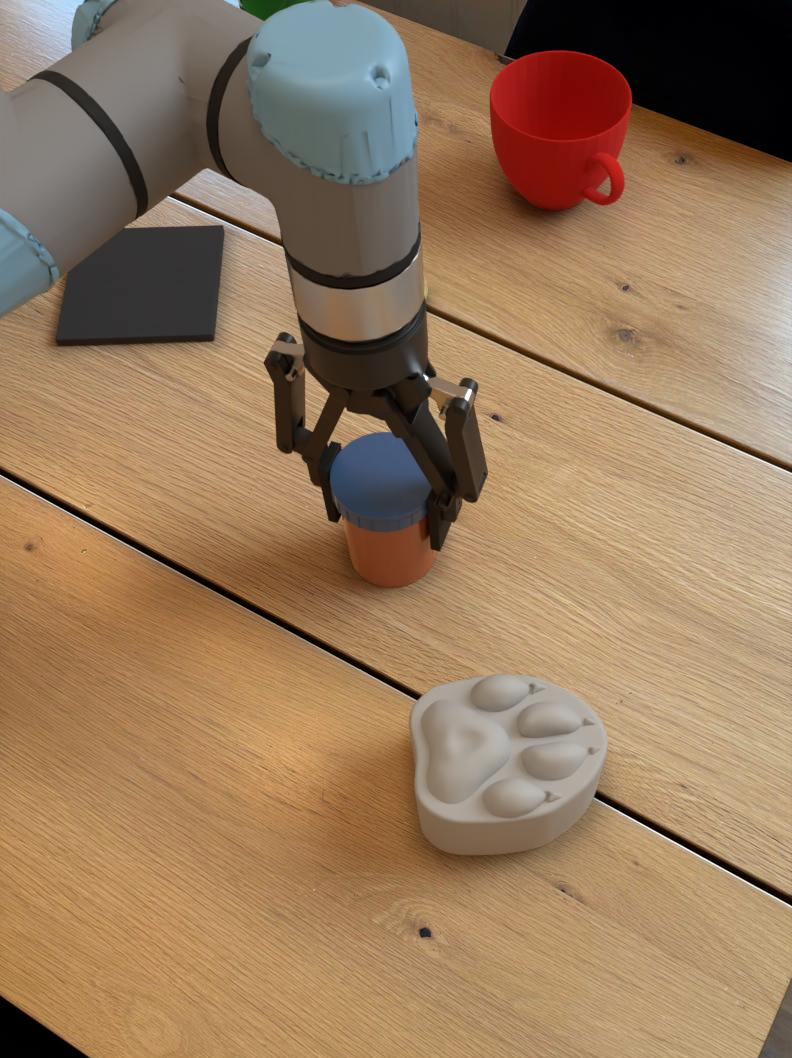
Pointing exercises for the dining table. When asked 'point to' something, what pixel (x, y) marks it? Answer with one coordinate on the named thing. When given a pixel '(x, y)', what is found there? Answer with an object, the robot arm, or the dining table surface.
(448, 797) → the grey paw print block
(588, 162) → the ceramic cup
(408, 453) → the jar lid
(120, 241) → the mat
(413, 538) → the jam jar
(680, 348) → the dining table surface
